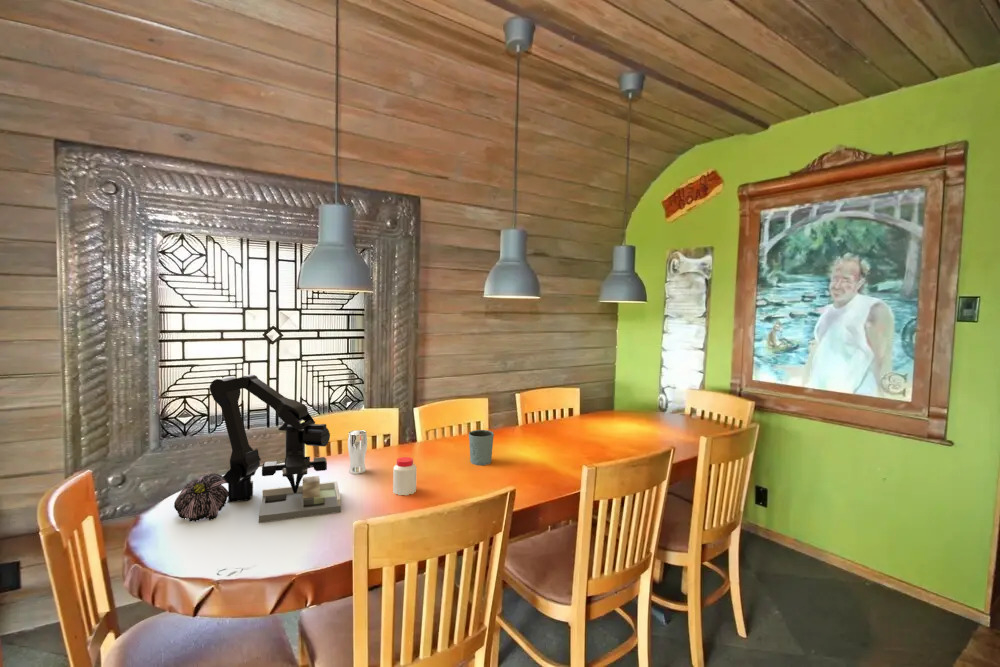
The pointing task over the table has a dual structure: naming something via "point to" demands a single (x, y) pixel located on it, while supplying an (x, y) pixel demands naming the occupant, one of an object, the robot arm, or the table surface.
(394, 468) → the pill bottle
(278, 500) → the trap deck
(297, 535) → the table surface
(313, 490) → the ivory block
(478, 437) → the grey cup
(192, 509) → the decorative flower
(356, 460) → the beer glass
